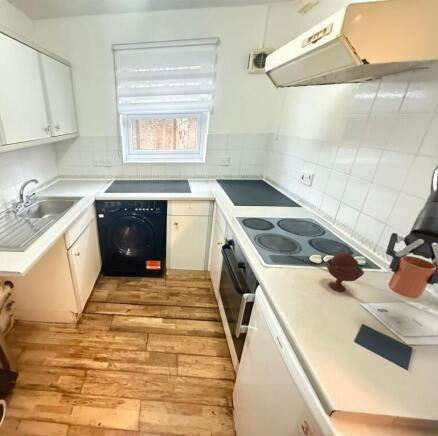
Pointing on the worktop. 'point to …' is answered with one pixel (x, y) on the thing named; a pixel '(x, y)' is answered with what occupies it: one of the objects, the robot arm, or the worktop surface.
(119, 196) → the worktop surface
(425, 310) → the worktop surface
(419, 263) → the terracotta cup
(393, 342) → the place mat
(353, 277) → the ice cream bowl
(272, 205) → the worktop surface
